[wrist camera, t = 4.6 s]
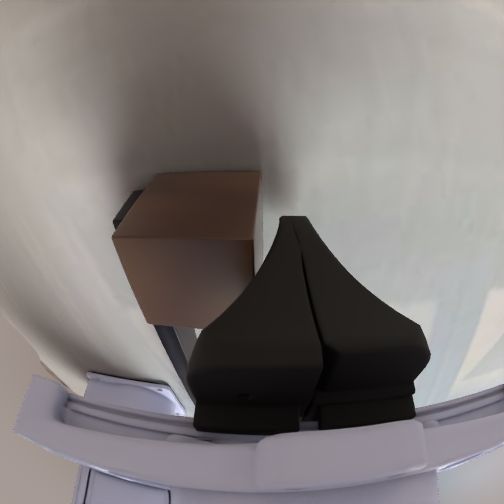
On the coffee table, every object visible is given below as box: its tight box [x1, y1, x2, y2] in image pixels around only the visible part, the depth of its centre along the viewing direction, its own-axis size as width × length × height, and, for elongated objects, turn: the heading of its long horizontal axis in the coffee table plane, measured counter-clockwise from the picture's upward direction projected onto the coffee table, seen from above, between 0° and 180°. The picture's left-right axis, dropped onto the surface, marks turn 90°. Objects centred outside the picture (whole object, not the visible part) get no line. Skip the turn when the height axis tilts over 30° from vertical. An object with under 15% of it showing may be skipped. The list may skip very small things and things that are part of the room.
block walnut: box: [112, 171, 263, 329], centre depth 11 cm, size 4×4×4 cm
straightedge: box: [113, 190, 197, 406], centre depth 24 cm, size 1×40×2 cm, turn 2°
